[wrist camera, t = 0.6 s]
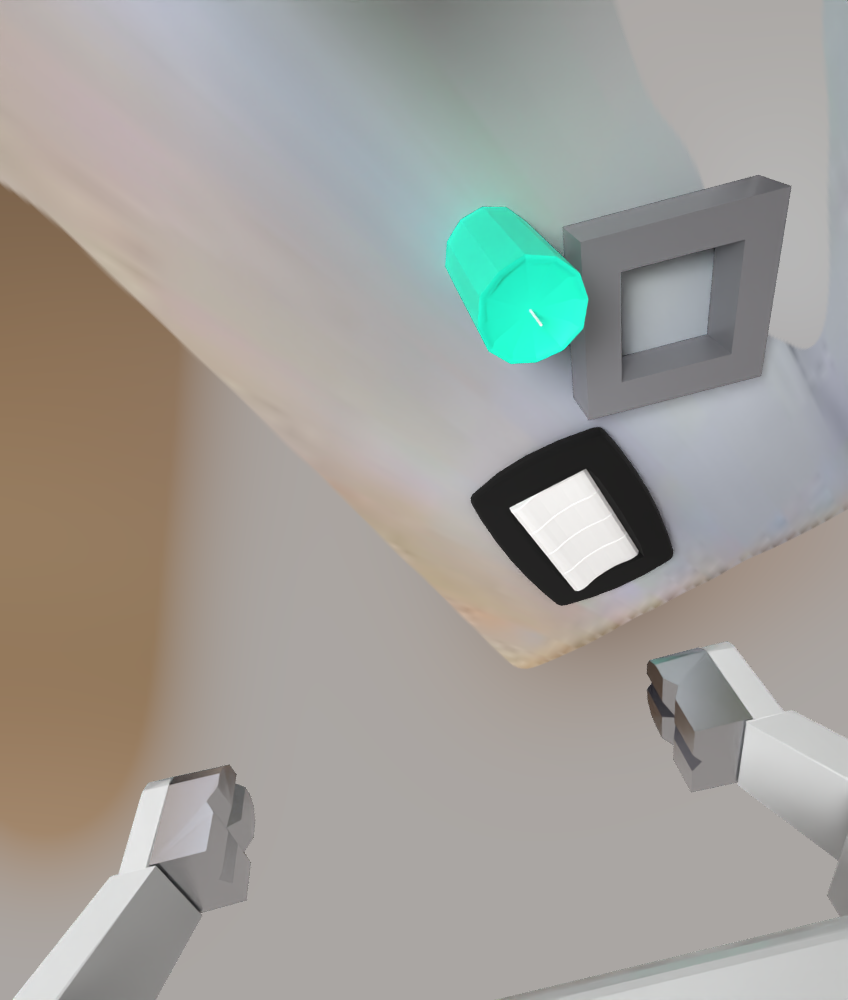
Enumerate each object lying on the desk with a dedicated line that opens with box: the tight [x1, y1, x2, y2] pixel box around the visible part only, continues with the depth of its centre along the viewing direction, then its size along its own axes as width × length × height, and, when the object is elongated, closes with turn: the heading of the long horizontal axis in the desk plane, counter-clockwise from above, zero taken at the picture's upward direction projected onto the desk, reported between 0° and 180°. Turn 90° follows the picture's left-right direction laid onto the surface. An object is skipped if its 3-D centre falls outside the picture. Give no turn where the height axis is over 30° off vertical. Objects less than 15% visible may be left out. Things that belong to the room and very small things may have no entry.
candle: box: [445, 207, 588, 364], centre depth 35 cm, size 6×6×12 cm
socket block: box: [563, 175, 791, 420], centre depth 42 cm, size 13×13×4 cm
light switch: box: [471, 427, 673, 606], centre depth 55 cm, size 20×3×14 cm
